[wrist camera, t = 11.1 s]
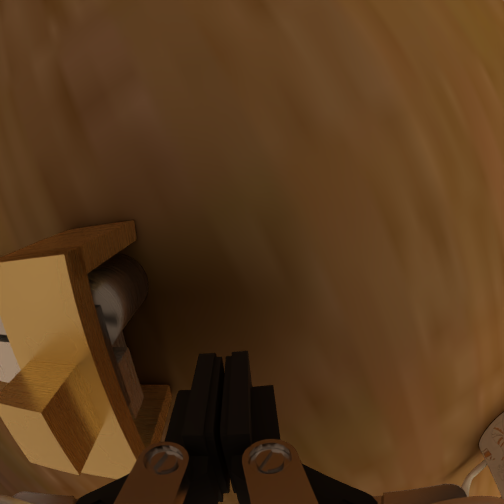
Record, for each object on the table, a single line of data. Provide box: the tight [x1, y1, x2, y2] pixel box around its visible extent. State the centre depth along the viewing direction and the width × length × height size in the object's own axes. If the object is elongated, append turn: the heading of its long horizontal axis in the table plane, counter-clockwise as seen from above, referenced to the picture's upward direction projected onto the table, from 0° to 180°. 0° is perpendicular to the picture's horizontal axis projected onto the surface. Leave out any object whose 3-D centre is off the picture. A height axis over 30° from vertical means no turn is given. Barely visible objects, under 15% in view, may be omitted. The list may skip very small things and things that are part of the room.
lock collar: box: [0, 220, 172, 479], centre depth 12 cm, size 11×4×10 cm, turn 5°
